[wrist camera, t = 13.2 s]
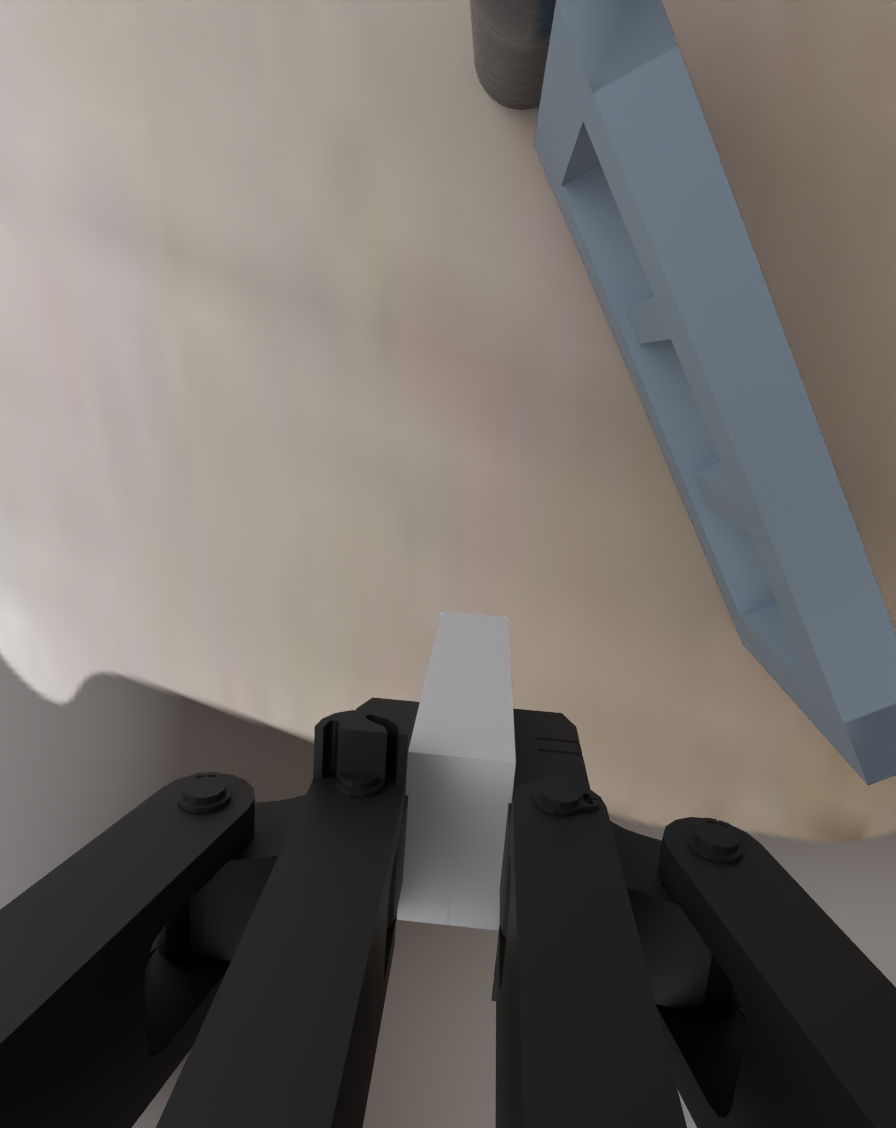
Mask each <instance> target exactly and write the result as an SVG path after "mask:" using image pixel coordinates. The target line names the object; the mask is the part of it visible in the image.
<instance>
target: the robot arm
mask: <svg viewBox="0 0 896 1128" xmlns="http://www.w3.org/2000/svg"><path fill="white" fill-rule="evenodd" d="M313 770H314V772H313V781H312V783H311V785H310V787H309V790H308V792H307V794H305V795H302V796H299V797H295V798H292V799H286V800H280V801H270V802H259V803H255V796H254V788H253V787H252V786H251V785H250V784H249V783H248V782H247V781H246V780H244V779H241V778H239V777H236V776H234V775H229V774H221V773H217V772H208V773H197V774H194V775H191V776H188V777H184V778H180V779H177V780H176V781H174V782H172V783H170V784H168V785H166V786H165V787H163V788H161V789H160V790H159V791H157V792H156V793H155V794H153V795H152V796H151V797H149V798H148V799H147V800H145V801H144V802H143V803H141V804H140V805H139V806H137V807H136V808H135V809H133V810H132V811H131V812H129V813H128V814H127V815H125V816H124V817H123V818H121V819H120V820H119V821H117V822H116V823H115V824H113V825H112V826H111V827H109V828H108V829H107V830H105V832H103V833H102V834H100V835H99V836H98V837H96V838H95V839H94V840H92V841H91V842H90V843H88V844H87V845H86V846H84V847H83V848H82V849H80V850H79V851H78V852H76V853H75V854H74V855H72V856H71V857H70V858H68V859H67V860H66V861H64V862H63V863H62V864H60V865H59V866H58V867H57V868H55V869H54V870H52V871H51V872H50V873H48V874H47V875H46V876H44V877H43V878H42V879H40V880H39V881H38V882H36V883H35V884H34V885H33V886H31V887H30V888H28V889H27V890H26V891H25V892H23V893H22V894H21V895H19V896H18V897H17V898H15V899H14V900H13V901H11V902H10V903H9V904H7V905H6V906H5V907H3V908H2V909H1V910H0V1128H131V1127H132V1126H133V1125H134V1124H135V1122H136V1121H137V1119H138V1118H139V1117H140V1116H141V1114H142V1113H143V1112H144V1110H145V1109H146V1108H147V1106H148V1105H149V1104H150V1102H151V1101H152V1100H153V1099H154V1097H155V1096H156V1095H157V1093H158V1092H159V1091H160V1089H161V1088H162V1087H163V1085H164V1084H165V1083H166V1081H167V1080H168V1079H169V1077H170V1076H171V1075H172V1073H173V1072H174V1071H175V1069H176V1068H177V1067H178V1065H179V1064H180V1063H181V1061H182V1060H183V1059H184V1057H185V1056H186V1055H187V1053H188V1052H189V1051H190V1050H191V1051H190V1053H189V1056H188V1058H187V1060H186V1062H185V1064H184V1067H183V1069H182V1071H181V1073H180V1076H179V1078H178V1080H177V1082H176V1085H175V1087H174V1089H173V1091H172V1093H171V1096H170V1098H169V1100H168V1102H167V1105H166V1107H165V1109H164V1111H163V1113H162V1116H161V1118H160V1120H159V1122H158V1125H157V1127H156V1128H362V1127H363V1122H364V1116H365V1110H366V1104H367V1099H368V1093H369V1088H370V1082H371V1076H372V1071H373V1065H374V1059H375V1053H376V1048H377V1041H378V1036H379V1030H380V1025H381V1019H382V1014H383V1008H384V1002H385V996H386V990H387V985H388V979H389V974H390V968H391V962H392V956H393V951H394V945H395V929H396V915H397V920H405V921H415V922H424V923H433V924H443V925H452V926H462V927H471V928H481V929H490V930H498V929H499V935H498V944H497V954H496V963H495V973H494V983H493V992H492V1001H496V1128H687V1126H686V1122H685V1118H684V1114H683V1110H682V1106H681V1102H680V1098H679V1094H678V1091H679V1093H680V1095H681V1097H682V1099H683V1101H684V1103H685V1105H686V1107H687V1109H688V1110H689V1112H690V1115H691V1117H692V1118H693V1120H694V1122H695V1124H696V1126H697V1128H896V987H895V986H894V985H893V984H892V983H891V982H890V981H889V980H888V979H887V978H886V977H885V976H884V975H883V974H882V972H881V971H880V970H879V969H878V968H877V967H876V966H875V965H874V964H873V963H872V962H871V961H870V960H869V959H868V958H867V957H866V956H865V954H864V953H863V952H862V951H861V950H860V949H859V948H858V947H857V946H856V945H855V944H854V943H853V942H852V941H851V940H850V938H849V937H847V935H846V934H845V933H844V932H843V931H842V930H841V929H840V928H839V927H838V926H837V925H836V924H835V923H834V922H833V920H832V919H831V918H830V917H829V916H828V915H827V914H826V913H825V912H824V911H823V910H822V909H821V908H820V906H819V905H817V903H816V902H815V901H814V900H813V899H812V898H811V897H810V896H809V895H808V894H807V893H806V892H805V891H804V889H803V888H802V887H801V886H800V885H799V884H798V883H797V882H796V881H795V880H794V879H793V878H792V877H791V876H790V875H789V873H788V872H787V871H786V870H785V869H784V868H783V867H782V866H781V865H780V864H779V863H778V862H777V861H776V860H775V859H774V858H773V856H772V855H771V854H770V853H769V852H768V851H767V850H766V849H765V848H764V847H763V846H762V845H761V844H760V843H759V842H758V841H756V840H755V839H754V838H753V837H751V836H750V835H749V834H748V833H746V832H744V831H742V830H740V829H738V828H736V827H734V826H732V825H730V824H729V823H726V822H723V821H720V820H719V821H717V820H716V819H711V818H695V817H689V818H684V819H678V820H675V821H673V822H672V823H670V824H669V825H667V826H666V828H665V831H664V835H663V839H662V841H661V840H657V839H654V838H650V837H647V836H644V835H640V834H637V833H635V832H632V831H629V830H626V829H624V828H622V827H620V826H618V825H617V824H615V823H613V822H611V821H610V819H609V815H608V811H607V807H606V805H605V804H604V802H603V800H602V799H601V797H600V796H598V795H597V794H596V793H594V792H593V791H592V790H590V786H589V782H588V777H587V773H586V768H585V764H584V760H583V756H582V751H581V746H580V744H579V738H578V733H577V729H576V726H575V725H574V724H573V723H571V722H570V721H569V720H568V719H567V718H566V717H565V716H564V715H563V714H562V713H553V712H543V711H532V710H521V709H513V695H512V676H511V656H510V636H509V617H503V616H491V615H480V614H469V613H457V612H446V611H441V615H440V619H439V623H438V627H437V632H436V636H435V640H434V644H433V649H432V653H431V657H430V661H429V666H428V670H427V674H426V678H425V683H424V687H423V691H422V695H421V699H420V702H413V701H403V700H392V699H381V698H371V699H370V700H368V701H367V702H365V703H364V704H363V705H361V706H360V707H358V708H357V709H356V710H351V711H345V712H339V713H335V714H332V715H330V716H328V717H325V718H323V719H322V720H321V721H320V722H319V723H318V724H317V725H316V726H315V739H314V769H313ZM397 910H398V913H397ZM499 920H500V925H499ZM191 1048H192V1049H191ZM677 1089H678V1090H677Z"/></svg>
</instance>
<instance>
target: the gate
mask: <svg viewBox="0 0 896 1128" xmlns="http://www.w3.org/2000/svg"><path fill="white" fill-rule="evenodd" d="M533 145H534V147H535V149H536V152H537V154H538V156H539V159H540V161H541V164H542V166H543V168H544V171H545V173H546V176H547V178H548V180H549V183H550V185H551V188H552V190H553V192H554V195H555V197H556V199H557V200H558V203H559V205H560V208H561V210H562V212H563V215H564V217H565V220H566V222H567V224H568V227H569V229H570V232H571V234H572V236H573V239H574V241H575V244H576V246H577V248H578V251H579V253H580V255H581V258H582V260H583V263H584V265H585V267H586V270H587V272H588V275H589V277H590V279H591V282H592V284H593V287H594V289H595V291H596V294H597V296H598V298H599V301H600V303H601V306H602V308H603V310H604V313H605V315H606V318H607V320H608V322H609V325H610V327H611V330H612V332H613V334H614V337H615V339H616V341H617V344H618V346H619V349H620V351H621V353H622V356H623V358H624V361H625V363H626V365H627V368H628V370H629V373H630V375H631V377H632V380H633V382H634V384H635V387H636V389H637V392H638V394H639V396H640V399H641V401H642V404H643V406H644V408H645V411H646V413H647V416H648V418H649V420H650V423H651V425H652V428H653V430H654V432H655V435H656V437H657V439H658V442H659V444H660V447H661V449H662V451H663V454H664V456H665V459H666V461H667V463H668V466H669V468H670V471H671V473H672V475H673V478H674V480H675V482H676V485H677V487H678V490H679V492H680V494H681V497H682V499H683V502H684V504H685V506H686V509H687V511H688V514H689V516H690V518H691V521H692V523H693V525H694V528H695V530H696V533H697V535H698V537H699V540H700V542H701V545H702V547H703V549H704V552H705V554H706V557H707V559H708V561H709V564H710V566H711V568H712V571H713V573H714V576H715V578H716V580H717V583H718V585H719V588H720V590H721V592H722V595H723V597H724V600H725V603H726V606H727V608H728V610H729V613H730V615H731V617H732V620H733V622H734V625H735V627H736V629H737V632H738V634H739V637H740V639H741V641H742V643H743V645H744V646H745V647H746V648H747V649H748V650H749V651H750V652H751V654H752V655H753V656H754V657H755V658H756V659H757V660H758V661H759V663H760V664H761V665H762V666H763V667H764V668H765V669H766V671H767V672H768V673H769V674H770V675H771V676H772V677H773V678H774V680H775V681H776V682H777V683H778V684H779V685H780V686H781V687H782V689H783V690H784V691H785V692H786V693H787V694H788V695H789V697H790V698H791V699H792V700H793V701H794V702H795V703H796V704H797V706H798V707H799V708H800V709H801V710H802V711H803V712H804V713H805V715H806V716H807V717H808V718H809V719H810V720H811V721H812V723H813V724H814V725H815V726H816V727H817V728H818V729H819V730H820V732H821V733H822V734H823V735H824V736H825V737H826V738H827V739H828V741H829V742H830V743H831V744H832V745H833V746H834V747H835V748H836V750H837V751H838V752H839V753H840V754H841V755H842V756H843V758H844V759H845V760H846V761H847V762H848V763H849V764H850V765H851V767H852V768H853V769H854V770H855V771H856V772H857V773H858V774H859V776H860V777H861V778H862V779H863V780H864V781H865V782H866V784H867V785H870V784H873V783H876V782H879V781H881V780H884V779H887V778H890V777H892V776H895V775H896V632H895V629H894V627H893V624H892V621H891V619H890V616H889V613H888V611H887V608H886V605H885V603H884V600H883V597H882V594H881V592H880V589H879V586H878V584H877V581H876V578H875V576H874V573H873V570H872V567H871V565H870V562H869V559H868V557H867V554H866V551H865V549H864V546H863V543H862V540H861V538H860V535H859V532H858V530H857V527H856V524H855V522H854V519H853V516H852V514H851V511H850V508H849V505H848V503H847V500H846V497H845V495H844V492H843V489H842V487H841V484H840V481H839V478H838V476H837V473H836V470H835V468H834V465H833V462H832V460H831V457H830V454H829V451H828V449H827V446H826V443H825V441H824V438H823V435H822V433H821V430H820V427H819V425H818V422H817V419H816V416H815V414H814V411H813V408H812V406H811V403H810V400H809V398H808V395H807V392H806V389H805V387H804V384H803V381H802V379H801V376H800V373H799V371H798V368H797V365H796V362H795V360H794V357H793V354H792V352H791V349H790V346H789V344H788V341H787V338H786V336H785V333H784V330H783V327H782V325H781V322H780V319H779V317H778V314H777V311H776V309H775V306H774V303H773V300H772V298H771V295H770V292H769V290H768V287H767V284H766V282H765V279H764V276H763V273H762V271H761V268H760V265H759V263H758V260H757V257H756V255H755V252H754V249H753V247H752V244H751V241H750V238H749V236H748V233H747V230H746V228H745V225H744V222H743V220H742V217H741V214H740V211H739V209H738V206H737V203H736V201H735V198H734V195H733V193H732V190H731V187H730V184H729V182H728V179H727V176H726V174H725V171H724V168H723V166H722V163H721V160H720V158H719V155H718V152H717V149H716V147H715V144H714V141H713V139H712V136H711V133H710V131H709V128H708V125H707V122H706V120H705V117H704V114H703V112H702V109H701V106H700V104H699V101H698V98H697V95H696V93H695V90H694V87H693V85H692V82H691V79H690V77H689V74H688V71H687V69H686V66H685V63H684V60H683V58H682V55H681V52H680V50H679V47H678V44H677V42H676V39H675V36H674V33H673V31H672V28H671V25H670V23H669V20H668V17H667V15H666V12H665V9H664V6H663V4H662V1H661V0H556V4H555V10H554V17H553V23H552V29H551V36H550V42H549V48H548V55H547V61H546V67H545V74H544V80H543V87H542V93H541V99H540V106H539V112H538V118H537V125H536V131H535V137H534V144H533Z"/></svg>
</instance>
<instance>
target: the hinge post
mask: <svg viewBox="0 0 896 1128" xmlns="http://www.w3.org/2000/svg"><path fill="white" fill-rule="evenodd" d="M555 4H556V0H470V8H471V21H472V34H473V47H474V60H475V68H476V72H477V75H478V78H479V80H480V83H481V85H482V86H483V88H484V89H485V91H486V92H487V93H488V94H489V95H490V96H491V97H492V98H493V99H494V100H495V101H497V102H498V103H500V104H502V105H504V106H507V107H510V108H514V109H528V108H533V107H536V106H538V105H540V99H541V93H542V87H543V80H544V74H545V67H546V61H547V55H548V48H549V42H550V36H551V29H552V23H553V17H554V10H555Z"/></svg>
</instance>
